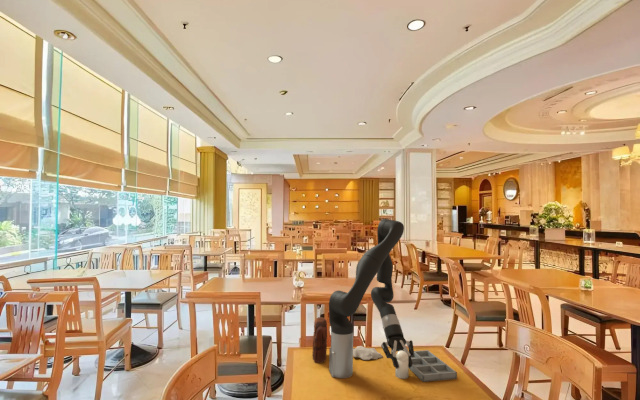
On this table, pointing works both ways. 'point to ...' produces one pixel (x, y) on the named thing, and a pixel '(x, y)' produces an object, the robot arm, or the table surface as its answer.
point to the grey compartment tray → (430, 367)
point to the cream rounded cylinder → (402, 365)
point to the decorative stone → (366, 353)
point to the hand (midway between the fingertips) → (404, 367)
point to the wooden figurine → (320, 340)
